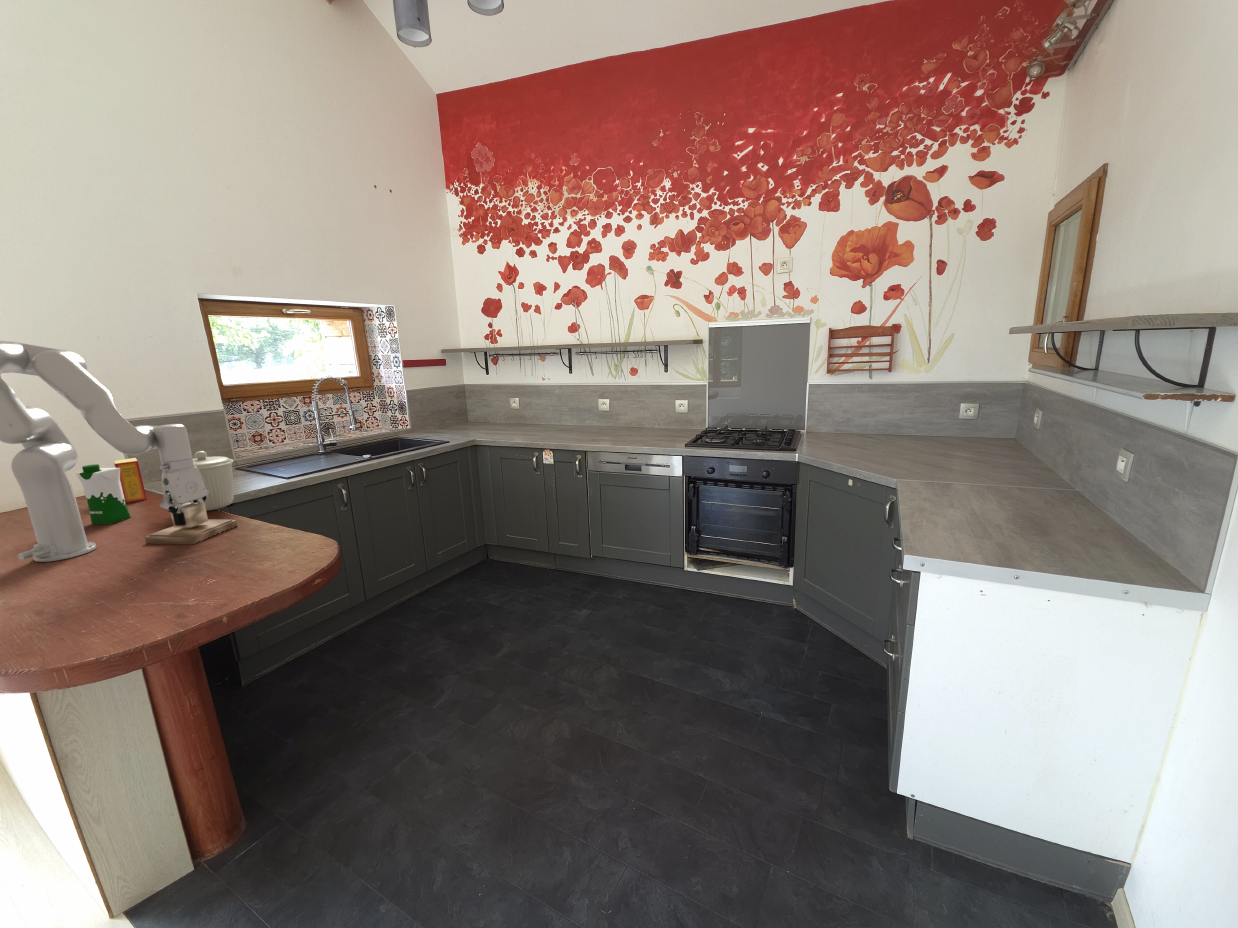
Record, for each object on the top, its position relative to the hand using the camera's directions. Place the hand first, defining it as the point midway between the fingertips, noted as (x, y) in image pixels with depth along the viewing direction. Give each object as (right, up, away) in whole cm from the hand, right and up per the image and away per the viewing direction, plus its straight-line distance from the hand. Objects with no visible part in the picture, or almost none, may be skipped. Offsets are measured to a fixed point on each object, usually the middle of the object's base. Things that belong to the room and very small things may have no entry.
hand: (190, 521), depth 164 cm
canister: (-16, +2, +30) cm, 34 cm away
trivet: (0, -4, +1) cm, 4 cm away
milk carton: (-41, -2, +17) cm, 45 cm away
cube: (0, -1, 0) cm, 1 cm away
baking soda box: (-58, +4, +44) cm, 73 cm away
